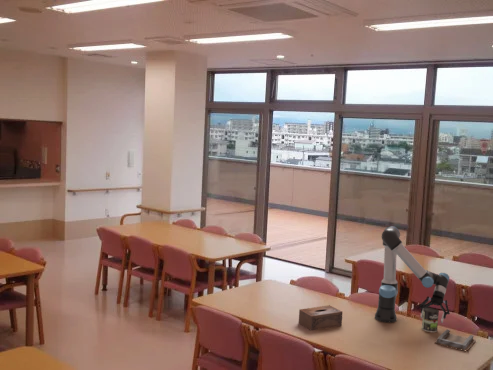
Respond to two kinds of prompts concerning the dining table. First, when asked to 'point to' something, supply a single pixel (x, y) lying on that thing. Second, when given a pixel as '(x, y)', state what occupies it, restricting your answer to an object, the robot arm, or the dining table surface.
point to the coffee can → (430, 319)
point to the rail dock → (455, 340)
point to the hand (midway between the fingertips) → (431, 319)
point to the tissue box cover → (320, 317)
